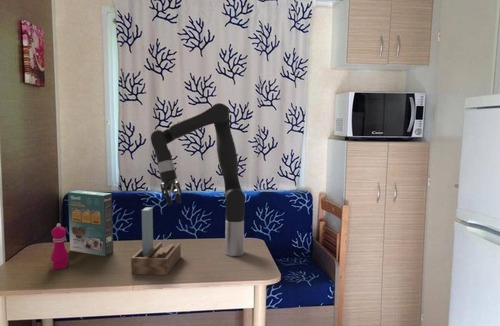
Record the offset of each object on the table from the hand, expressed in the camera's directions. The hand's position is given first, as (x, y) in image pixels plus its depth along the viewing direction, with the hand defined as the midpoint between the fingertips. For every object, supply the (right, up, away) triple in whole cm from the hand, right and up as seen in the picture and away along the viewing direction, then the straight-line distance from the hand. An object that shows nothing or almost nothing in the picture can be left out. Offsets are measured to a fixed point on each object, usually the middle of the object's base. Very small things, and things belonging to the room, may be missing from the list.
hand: (174, 203), depth 194 cm
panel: (-11, -27, -6) cm, 30 cm away
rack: (-6, -27, -6) cm, 29 cm away
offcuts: (-4, -28, -6) cm, 28 cm away
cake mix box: (-44, -25, +11) cm, 52 cm away
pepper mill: (-50, -28, -10) cm, 58 cm away
